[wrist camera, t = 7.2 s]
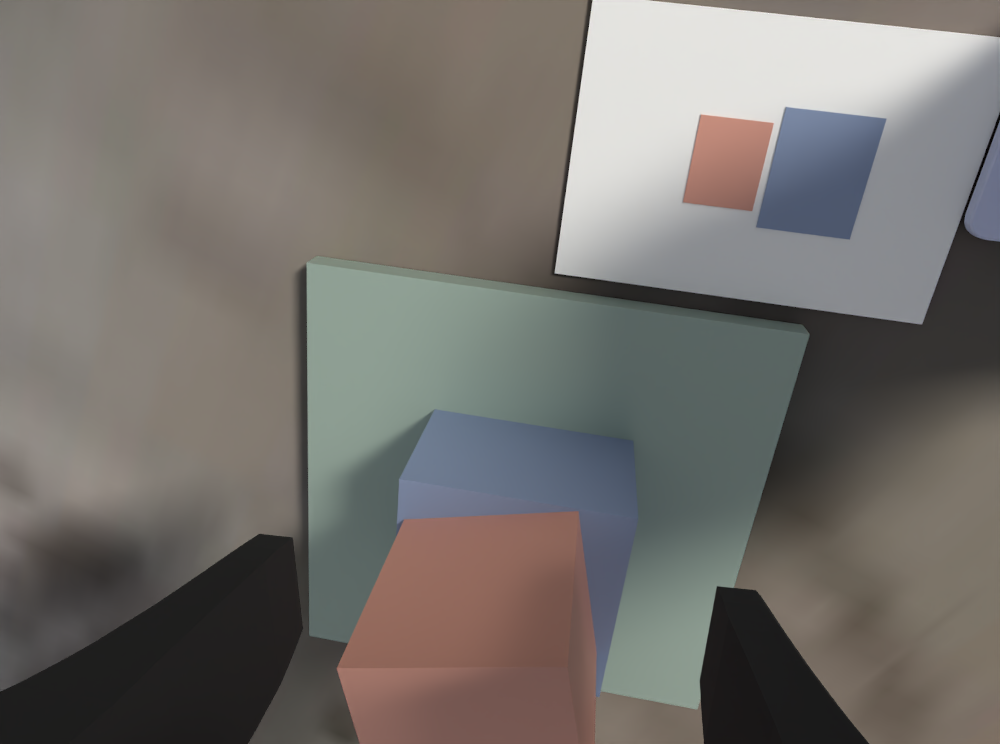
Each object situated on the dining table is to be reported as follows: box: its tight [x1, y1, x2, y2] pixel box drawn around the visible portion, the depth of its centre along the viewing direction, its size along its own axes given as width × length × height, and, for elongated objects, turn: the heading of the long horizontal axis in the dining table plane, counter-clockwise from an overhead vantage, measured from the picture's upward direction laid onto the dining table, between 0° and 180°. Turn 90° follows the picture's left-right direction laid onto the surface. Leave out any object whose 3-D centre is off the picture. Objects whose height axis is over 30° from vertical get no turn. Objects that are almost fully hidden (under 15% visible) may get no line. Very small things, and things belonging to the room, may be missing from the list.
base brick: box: [396, 409, 638, 697], centre depth 21 cm, size 6×6×4 cm
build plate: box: [307, 256, 810, 709], centre depth 23 cm, size 14×14×1 cm
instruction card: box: [555, 0, 1000, 325], centre depth 18 cm, size 10×7×1 cm
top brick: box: [337, 511, 597, 744], centre depth 17 cm, size 4×4×5 cm
